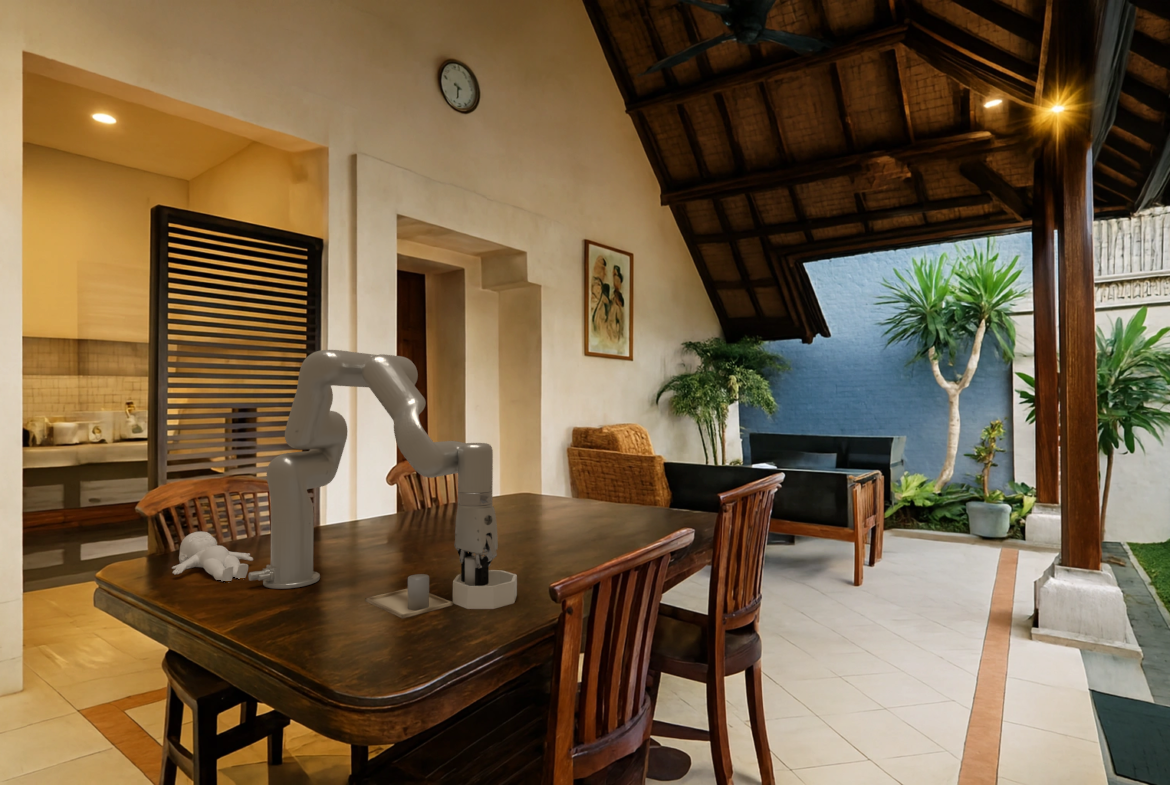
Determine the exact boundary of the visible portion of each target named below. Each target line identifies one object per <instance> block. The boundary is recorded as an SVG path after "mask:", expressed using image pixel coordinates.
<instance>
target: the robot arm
mask: <svg viewBox="0 0 1170 785" xmlns="http://www.w3.org/2000/svg"><path fill="white" fill-rule="evenodd" d="M298 372H299V373H298V380H297V386H296V387H297V388H296V391H295V395H294V398H293V400H292V404H291V408H290V412H289V415H288V419H287V422H286V427H285V430H284V440H285V442H286V444H287V445H288V447H291V448H292V449H296V450H304V451H293V452H287V453H281V454H279V455H277V456H275V457H274V458H273V459H271V461H270V462H269V463H268V466H267V468H266V481H267V486H268V492H269V497H270V498H269V499H270V500H269V501H270V563H269V564H266V567H265V568H262V570H255V571H250V572H249V573H247V575H248V581H256V580H258V581H262V584H263V585H262V586H264V587H265V588H267V589H268V588H269V589H274V590H275V589H277V590H281V589H282V590H285V589H286V590H287V589H294V588H295V589H296V588H300V587H302V588H303V587H306V586H309V585H312V584H315V583H317V582H319V580H320V578H321V575H320V573H319V572H317V571H314V505H313V502H312V498H311V497H310V495H309V492H308V490H311V489H316V488H321V487H324V486H327V485H328V484H331V483H332V481H333V480H334V478H335V477H336V474H337V472H338V469H339V466H340V463H341V460H342V456H343V452H344V449H345V446H346V442H347V440H348V425H347V421H346V419H345V418H344V416H343V415H341V414H340V413H339V412H337V411H334V410H331V408H332V405H333V402H334V401H333V399H334V393H333V388H332V387H333V386H336V387H349V388H350V387H351V388H352V387H354V388H369V389H370V391H371V392H372V393H373V395H374V396H375V398H376V399H377V400H378V402H379V403H380V404H381V405H382V407H383V408H384V410H385V411H386V413H387V414H388V415H389V417H390V418H391V420H392V421H393V433H394V439H395V442H396V445H397V448H398V449H399V451H400V453H401V454H402V455H403V457H404V458H405V459H406V461H407V462H408V464H409V465H410V466H411V467H412V468H413V470H414V471H415V472H417V473H418V474H419V475H421V476H422V477H425V478H430V479H432V478H437V477H442V476H449V475H450V476H451V475H454V474H457V510H456V516H455V532H454V539H455V540H454V548H455V549H456V551H457V554H458V557H459V563H460V568H461V570H460V574H461V581H462V582H465V557H468V556H474V555H476V562H477V568H475V586H483V585H487V584H488V583H489V567H491V564H492V561H493V560H494V559H495V558H497V556H498V552H497V550H498V548H499V547H498V543H499V542H498V541H499V540H498V539H499V538H498V525H497V516H496V510H495V507H494V506H493V489H494V488H493V480H494V478H493V477H494V476H493V475H494V474H493V472H494V467H493V464H494V463H493V462H494V459H493V458H494V451H493V450H494V449H493V447H492V445H491V444H489V443H487V442H486V443H485V442H461V441H456V440H446V441H443V440H442V441H435V442H434V441H433V440H432V439H431V437H430V436H429V435H428V433H427V432H426V431H425V429H424V427H423V426H422V423H421V421H420V416H419V415H420V414H421V413H422V412H423V411H424V409H425V407H426V399H425V397H424V396H423V395H422V393H421V391H420V390H418V388H417V387H416V383H417V381H418V377H419V376H418V375H419V374H418V370H417V367H416V365H415V364H414V363H413V361H412V360H411V359H409V358H407V357H405V356H401V355H393V354H384V353H383V354H382V353H381V354H374V353H373V354H372V353H364V352H357V351H356V352H355V351H348V350H342V349H341V350H340V349H321V350H318V351H317V350H316V351H314V352H311V353H310V354H309V355H308V356H307V357H306V358H305V359H304V360H303V361H302V364H301V366H300V369H299V371H298ZM306 450H308V451H306ZM481 556H484V558H483V559H482V560H481Z"/></svg>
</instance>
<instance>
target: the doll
mask: <svg viewBox="0 0 1170 785" xmlns="http://www.w3.org/2000/svg"><path fill="white" fill-rule="evenodd" d="M178 560H179V564H176V565H173V566H172V567H171V569H173V571H172V574H174V575H179V574H182V573H183V572H184V571H185V570H188V569H192V568H203V569H204V571H205V572H206V573H208V574H209V575H211V576H212V577H213V578H214V579H215V580H216V581H217V580H221V581H220V582H223V581H231V582H232V580H233V577H235V578H234V579H236V578H238V579H240V578H245V579H246V577H247V575H248V571H249V564H247V563H241V562H240V560H246V561H251V562H252V561H254V557H252V556H251V553H246V552H237V551H229V550H228V549H227V547H225V546H223V545H218V542H217V539H216V538H215V537H213V535H212V534H211V533H210V532H207V531H195V532H192V533H189V534H188V535H186V536H185V537H184V538H183V539H182V541H181V543H180V547H179V556H178ZM238 579H237V580H238Z"/></svg>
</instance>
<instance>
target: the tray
mask: <svg viewBox="0 0 1170 785" xmlns="http://www.w3.org/2000/svg"><path fill="white" fill-rule="evenodd" d="M364 601H365V602H366V603H368V604H370V605H372V606H374V607H376V608H379V609H381V610H382V611H386V612H388V613H389V614H392V615H394V616H396V617H398V618H401V619H407V618H411V617H414V616H417V615H420V614H424V613H425V614H426V613H428V612H429V613H430V612H432V611H436V610H440V609H443V608H447V607H452V606H454V603H453V601H451V600H449V599H445V598H443V597H441V596H438V595H435V594H433V593H430V592H429V607H428V608H425V609H421V610H409V609H408V588H405V589H399V590H395V591H391V592H390V591H389V592H387V593H384V594H383V593H382V594H377V595H373V596H369V597H365V598H364Z"/></svg>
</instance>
